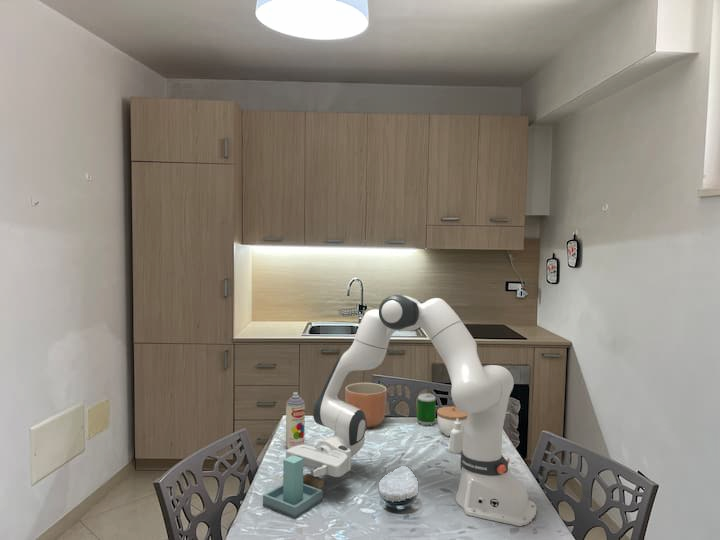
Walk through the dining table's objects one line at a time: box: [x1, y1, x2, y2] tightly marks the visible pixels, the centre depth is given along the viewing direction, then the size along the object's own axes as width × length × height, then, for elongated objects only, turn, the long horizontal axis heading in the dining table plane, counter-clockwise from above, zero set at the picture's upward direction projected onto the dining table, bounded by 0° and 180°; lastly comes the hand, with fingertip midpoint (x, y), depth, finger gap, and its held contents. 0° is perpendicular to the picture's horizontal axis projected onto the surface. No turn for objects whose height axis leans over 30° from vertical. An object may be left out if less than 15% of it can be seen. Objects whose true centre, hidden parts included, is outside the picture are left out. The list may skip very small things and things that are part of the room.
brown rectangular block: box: [303, 473, 324, 491], centre depth 153 cm, size 6×2×4 cm, turn 56°
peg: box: [282, 455, 304, 505], centre depth 145 cm, size 4×4×12 cm
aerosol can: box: [285, 391, 306, 450], centre depth 185 cm, size 7×7×20 cm
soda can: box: [416, 392, 437, 426], centre depth 212 cm, size 8×8×12 cm
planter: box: [344, 382, 387, 429], centre depth 210 cm, size 17×17×15 cm
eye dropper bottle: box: [449, 419, 463, 455], centre depth 183 cm, size 4×6×12 cm
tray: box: [262, 483, 324, 519], centre depth 145 cm, size 12×12×3 cm
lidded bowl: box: [436, 405, 468, 437], centre depth 200 cm, size 13×13×11 cm
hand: (299, 469), depth 147 cm, fingers open, 8 cm apart
